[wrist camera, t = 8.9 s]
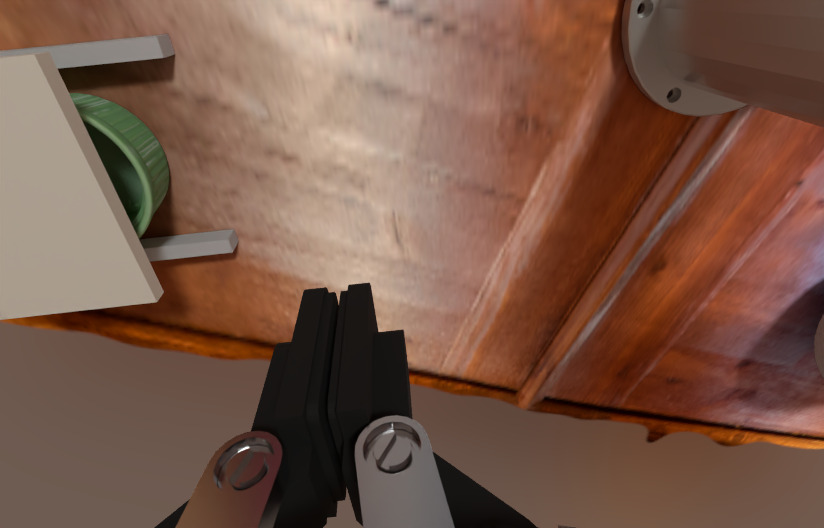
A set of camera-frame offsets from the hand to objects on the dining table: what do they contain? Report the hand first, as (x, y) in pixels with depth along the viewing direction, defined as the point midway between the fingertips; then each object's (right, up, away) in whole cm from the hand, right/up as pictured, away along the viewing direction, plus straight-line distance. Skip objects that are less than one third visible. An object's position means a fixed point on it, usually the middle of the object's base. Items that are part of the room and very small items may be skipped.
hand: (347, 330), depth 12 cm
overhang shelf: (-18, +8, +16) cm, 25 cm away
